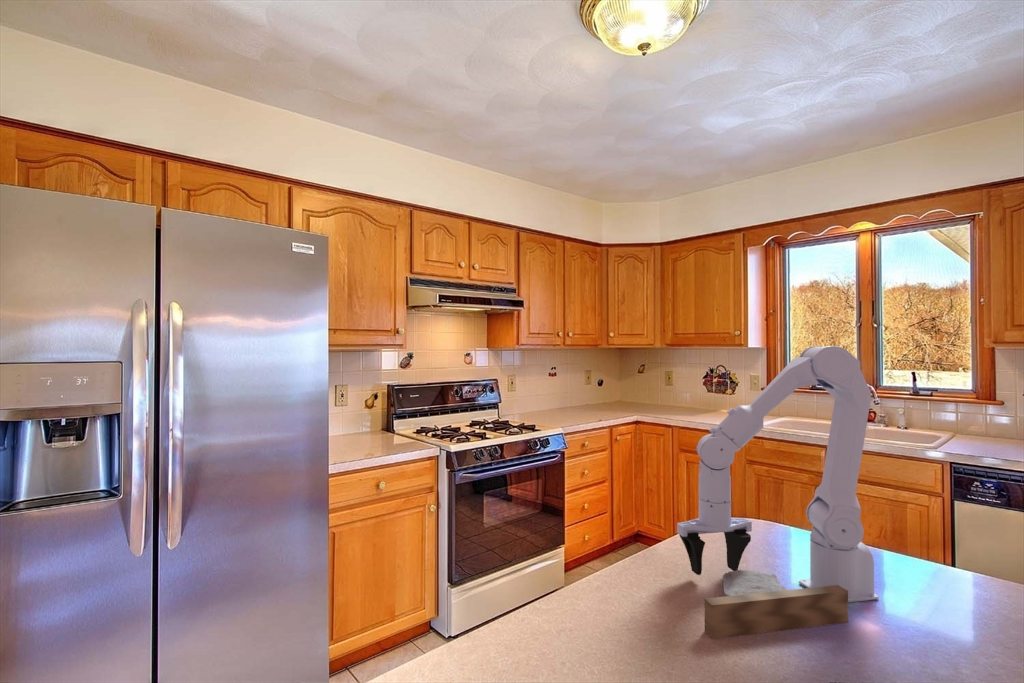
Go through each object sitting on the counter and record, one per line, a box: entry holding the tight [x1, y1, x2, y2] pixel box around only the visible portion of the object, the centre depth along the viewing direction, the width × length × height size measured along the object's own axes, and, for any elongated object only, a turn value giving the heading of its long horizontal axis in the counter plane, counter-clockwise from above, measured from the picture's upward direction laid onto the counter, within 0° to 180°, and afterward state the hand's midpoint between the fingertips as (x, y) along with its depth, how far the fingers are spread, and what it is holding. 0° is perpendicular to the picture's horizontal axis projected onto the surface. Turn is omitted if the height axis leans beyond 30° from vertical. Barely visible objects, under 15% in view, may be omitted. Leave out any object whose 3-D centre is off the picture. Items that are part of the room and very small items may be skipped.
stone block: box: [722, 569, 788, 597], centre depth 86 cm, size 12×5×10 cm
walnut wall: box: [704, 585, 849, 640], centre depth 78 cm, size 24×2×5 cm, turn 101°
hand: (714, 570), depth 94 cm, fingers open, 7 cm apart
